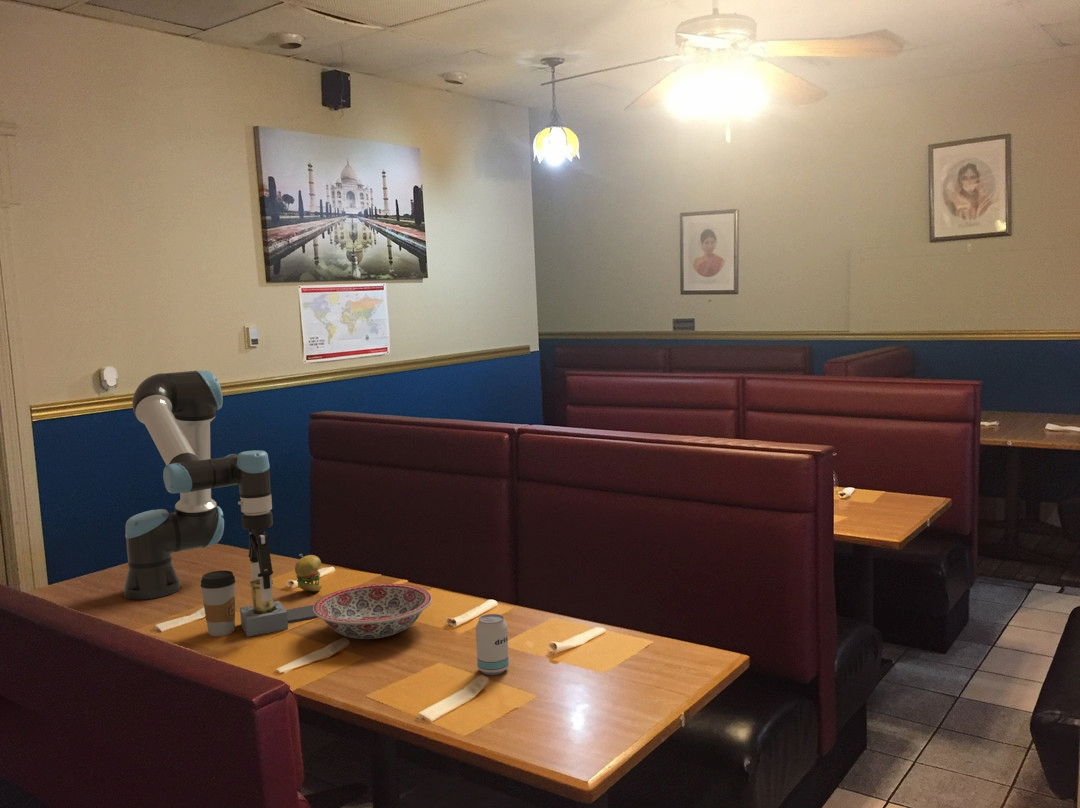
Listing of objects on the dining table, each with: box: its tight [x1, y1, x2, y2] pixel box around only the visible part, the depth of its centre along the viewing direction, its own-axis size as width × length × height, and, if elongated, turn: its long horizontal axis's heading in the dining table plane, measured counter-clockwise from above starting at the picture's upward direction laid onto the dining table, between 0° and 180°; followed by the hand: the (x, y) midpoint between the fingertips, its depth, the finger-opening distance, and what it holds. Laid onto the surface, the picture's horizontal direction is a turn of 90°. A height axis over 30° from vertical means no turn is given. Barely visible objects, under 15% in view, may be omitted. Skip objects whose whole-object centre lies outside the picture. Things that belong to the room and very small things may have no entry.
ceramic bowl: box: [313, 583, 433, 640], centre depth 222 cm, size 29×29×8 cm
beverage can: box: [475, 613, 510, 676], centre depth 196 cm, size 7×7×12 cm
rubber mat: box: [285, 604, 319, 624], centre depth 236 cm, size 9×9×1 cm
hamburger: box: [294, 553, 322, 592], centre depth 255 cm, size 8×7×12 cm
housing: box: [239, 600, 289, 637], centre depth 228 cm, size 10×10×4 cm
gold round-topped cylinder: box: [249, 579, 274, 615], centre depth 228 cm, size 6×6×12 cm
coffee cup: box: [200, 569, 237, 637], centre depth 225 cm, size 8×8×15 cm
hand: (262, 593), depth 227 cm, fingers open, 13 cm apart
